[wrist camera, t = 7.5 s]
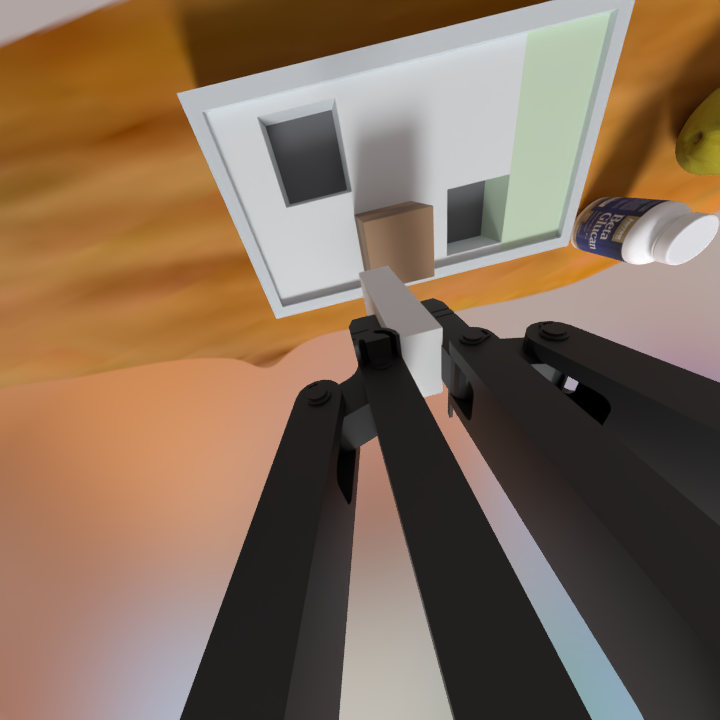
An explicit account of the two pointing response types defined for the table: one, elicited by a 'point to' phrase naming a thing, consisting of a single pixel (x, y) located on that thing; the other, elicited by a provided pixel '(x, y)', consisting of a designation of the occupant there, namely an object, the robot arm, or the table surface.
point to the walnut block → (398, 240)
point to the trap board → (414, 144)
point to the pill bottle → (643, 230)
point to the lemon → (701, 139)
